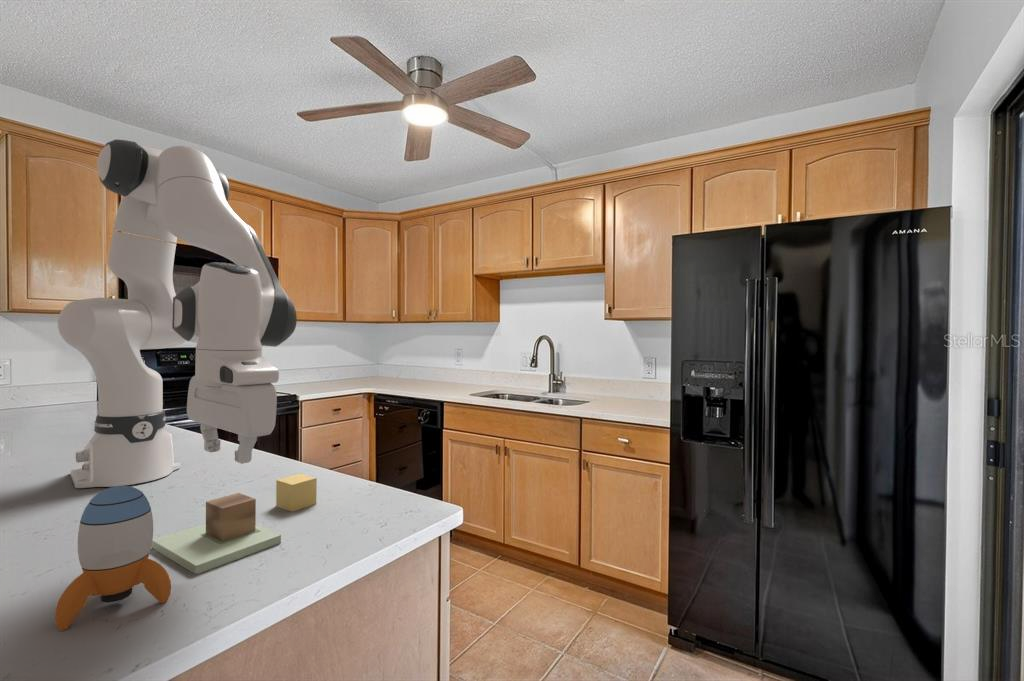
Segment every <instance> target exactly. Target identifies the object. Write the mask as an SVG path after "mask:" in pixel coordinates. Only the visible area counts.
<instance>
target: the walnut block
mask: <svg viewBox="0 0 1024 681" xmlns="http://www.w3.org/2000/svg"><path fill="white" fill-rule="evenodd" d="M256 500H257V499H256V498H254V497H251V496H248V495H246V494H243V493H241V492H237V493H234V494H230V495H225V496H222V497H218V498H215V499H210V500H206V501H205V524H206V534H207V535H209V536H211V537H213V538H215V539H217V540H219V541H221V542H223V541H226V540H229V539H232V538H235V537H238V536H241V535H244V534H247V533H250V532H253V531H255V524H256V522H257V521H256V518H257V517H256V515H257V512H256V510H257V508H256V507H257V506H256V504H257V503H256V502H257V501H256ZM256 525H257V524H256Z"/></svg>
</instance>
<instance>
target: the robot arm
mask: <svg viewBox="0 0 1024 681" xmlns="http://www.w3.org/2000/svg"><path fill="white" fill-rule="evenodd" d="M96 167H97V172H98V177H99V182H101V184H102V185H103V186H104V188H105V189H106V190H108V191H111V192H113V193H114V194H117V195H119V196H121V200H120V202H119V205H118V207H117V211H116V215H115V219H114V223H113V228H112V233H111V235H112V236H111V242H110V248H109V254H108V260H107V263H108V267H109V270H110V271H111V273H113V274H114V275H115V276H116V277H117V278H119V279H121V280H122V281H123V283H125V285H126V288H127V294H128V297H127V299H125V298H114V297H113V298H112V297H111V298H109V297H93V298H92V297H91V298H82V299H75V300H73V301H70V302H68V303H67V304H66V305H65V306H64V307H63V308H62V309H61V311H60V313H59V315H58V319H57V328H58V332H59V334H60V336H61V338H62V339H63V341H64V342H65V343H67V345H69V346H70V347H73V348H74V349H75V350H77V351H78V352H79V353H81V355H83V356H84V357H85V359H86V360H87V362H88V363H89V364H90V366H91V368H92V370H93V372H94V375H95V376H94V377H95V378H96V382H97V383H96V384H97V396H98V397H97V398H98V399H97V400H98V401H97V402H98V414H97V415H96V417H95V421H94V424H93V425H94V429H93V431H94V432H95V433H94V435H93V436H92V437H91V438H90V440H89V442H88V443H87V444H86V445H85V446H84V449H83V450H79V451H76V452H75V462H76V464H77V463H83V464H82V465H81V466H78V467H74V468H71V469H70V474H69V475H70V478H71V480H72V483H73V485H74V488H75V489H86V488H87V489H88V488H97V487H98V488H100V487H101V488H104V487H105V488H106V487H107V488H111V487H115V486H131V485H136V484H142V483H143V484H144V483H147V482H151V481H155V480H158V479H162V478H164V477H166V476H169V475H170V474H171V473H172V472H173V471H176V470H178V469H180V468H181V463H180V462H175V460H174V458H175V457H174V448H173V447H174V446H173V435H172V434H171V433H170V432H168V431H167V430H165V428H164V427H165V426H166V420H167V419H166V418H167V416H166V412H165V410H164V409H163V406H164V402H163V401H164V399H163V397H164V395H163V394H164V392H163V390H164V389H163V388H164V387H163V386H164V385H163V377H162V376H161V374H160V373H159V372H158V371H156V370H154V369H152V368H150V367H148V366H147V364H145V362H144V361H143V357H142V354H141V350H159V349H166V348H171V347H175V346H177V345H182V344H184V343H185V342H192V343H195V344H196V345H195V367H194V368H195V369H194V370H195V371H194V372H195V374H194V375H193V376H192V377H191V378H190V380H189V384H188V391H187V402H186V414H187V418H188V420H189V421H192V422H196V423H199V424H200V427H199V428H200V432H201V435H202V438H203V441H204V442H203V446H204V447H203V449H204V451H205V452H209V453H217V452H219V451H220V450H221V441H222V440H221V439H219V435H218V429H220V430H223V431H226V432H228V433H229V432H230V433H232V434H233V433H234V434H236V435H237V440H238V442H239V445H238V448H237V450H234V461H235V462H236V463H239V464H241V465H242V464H248V463H250V462H251V461H252V454H253V453H252V452H253V449H254V447H255V444H256V442H257V441H258V437H263V436H269V435H271V434H272V432H273V430H274V428H275V426H276V419H277V403H278V402H277V399H278V397H277V395H278V394H277V389H276V387H275V385H274V384H276V383H278V382H279V380H280V379H279V377H280V374H279V373H280V371H279V369H278V368H276V367H275V366H274V365H272V364H271V363H270V362H269V361H268V360H267V359H266V358H265V357H264V356H263V347H264V346H265V347H274V348H275V347H278V346H280V345H281V344H282V343H284V342H285V341H286V340H288V339H289V338H290V337H291V336H292V335H293V333H294V332H295V330H296V327H297V323H298V322H297V318H298V317H297V311H296V308H295V305H294V303H293V301H292V299H291V298H290V297H289V296H288V294H287V293H286V291H285V289H283V287H282V285H281V283H280V281H279V278H278V276H277V275H276V274H277V273H275V271H274V268H273V266H272V264H271V262H270V259H269V257H268V255H267V254H266V251H265V249H264V247H263V245H262V243H261V241H260V239H259V237H258V234H256V232H255V229H253V227H251V226H250V225H249V224H248V223H246V221H244V220H242V218H240V216H239V215H238V214H237V213H236V212H235V211H234V210H233V209H232V207H231V206H230V204H229V203H228V201H229V197H230V196H229V195H230V183H229V181H228V178H227V177H226V175H225V174H224V173H223V172H221V171H220V170H219V169H217V168H216V167H215V165H214V164H213V162H212V161H211V159H210V158H209V157H208V156H207V155H206V154H205V153H204V152H202V151H201V150H199V149H197V148H195V147H191V146H189V145H174V146H171V147H170V146H169V147H168V148H165V149H164V150H163V149H159V148H154V147H151V146H146V145H142V144H139V143H137V142H135V141H131V140H128V139H127V140H125V139H113V140H111V141H108V142H106V144H105V145H104V147H103V148H102V149H101V151H100V152H99V154H98V156H97V160H96ZM178 240H180V241H182V242H184V243H186V244H188V245H191V246H194V247H196V248H200V249H202V250H203V249H204V250H206V251H209V252H210V253H211V252H212V253H214V254H216V255H219V256H221V257H223V258H225V259H227V260H229V261H230V262H233V263H230V262H229V263H228V262H222V261H221V262H218V261H213V262H209V263H205V264H204V265H203V266H202V267H201V271H200V277H199V281H198V282H197V283H195V285H193V286H187V287H185V288H183V289H182V290H181V291H180V292H178V293H177V294H176V291H175V285H174V281H173V279H174V278H173V277H174V275H173V273H174V265H175V264H174V263H175V255H176V249H177V248H176V247H177V243H178Z"/></svg>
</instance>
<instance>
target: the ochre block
mask: <svg viewBox="0 0 1024 681" xmlns="http://www.w3.org/2000/svg"><path fill="white" fill-rule="evenodd" d="M275 484H276V485H275V486H276V487H275V488H276V489H275V490H276V493H275V496H276V498H275V499H276V500H275V503H276V504H275V506H276V507H278V508H281V509H282V510H286V511H289V512H290V513H291V512H292V513H293V512H296V511H299V510H301V509H304V508H308V507H311V506H313V504H314V505H317V477H314V476H310V475H308V474H303V473H298V474H293V475H290V476H286V477H283V478H279V479H276V481H275Z"/></svg>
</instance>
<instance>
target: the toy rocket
mask: <svg viewBox="0 0 1024 681" xmlns="http://www.w3.org/2000/svg"><path fill="white" fill-rule="evenodd" d="M153 537H154V518H153V512H152V508H151V504H150V502H149V499H148V498H147V496H146V495H145V494H144V493H143V491H141V490H140V489H138V488H136V487H133V486H131V485H124V486H112V487H107V488H106V489H103V490H101V491H99V492H98V493H97V494H95V495H94V496H93V497H92V498H91V499H90V500H89V502H88V504H87V505H86V506H85V508H84V510H83V512H82V514H81V517H80V522H79V526H78V534H77V555H78V560H79V565H80V567H81V570H82V573H81V574H80V575H78V576H77V577H76V578H75V579H73V580H72V581H71V582H70V584H69V585H68V586H67V587H66V588H65V590H64V591H63V593H62V594H61V595H60V597H59V599H58V602H57V604H56V607H55V611H54V612H55V613H54V619H55V620H54V621H55V626H56V628H57V629H58V631H60V632H62V631H65V630H67V629H68V628H69V627H70V626H71V625H72V624H73V622H74V620H75V619H76V617H78V615H79V614H80V612H81V611H82V610H83V609H84V608H85V606H86V603H88V602H87V601H88V598H89V597H91V596H97V595H98V596H100V601H101V602H102V603H107V604H108V603H116V602H119V601H122V600H124V599H126V598H128V597H130V596H131V595H132V594H133V587H135V586H138V585H140V584H143V587H144V588H145V590H146V591H147V592H148V593H149V594H150V595H151V596H152V597H154V599H156V600H157V601H158V602H159V603H160V604H164V603H167V602H168V600H169V599H170V597H171V589H172V582H171V578H170V575H169V572H167V570H166V569H165V568H164V566H162V565H161V564H160V562H157V561H155V560H153V559H152V558H149V556H150V553H151V549H152V548H151V546H152V540H153V539H154V538H153Z"/></svg>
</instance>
